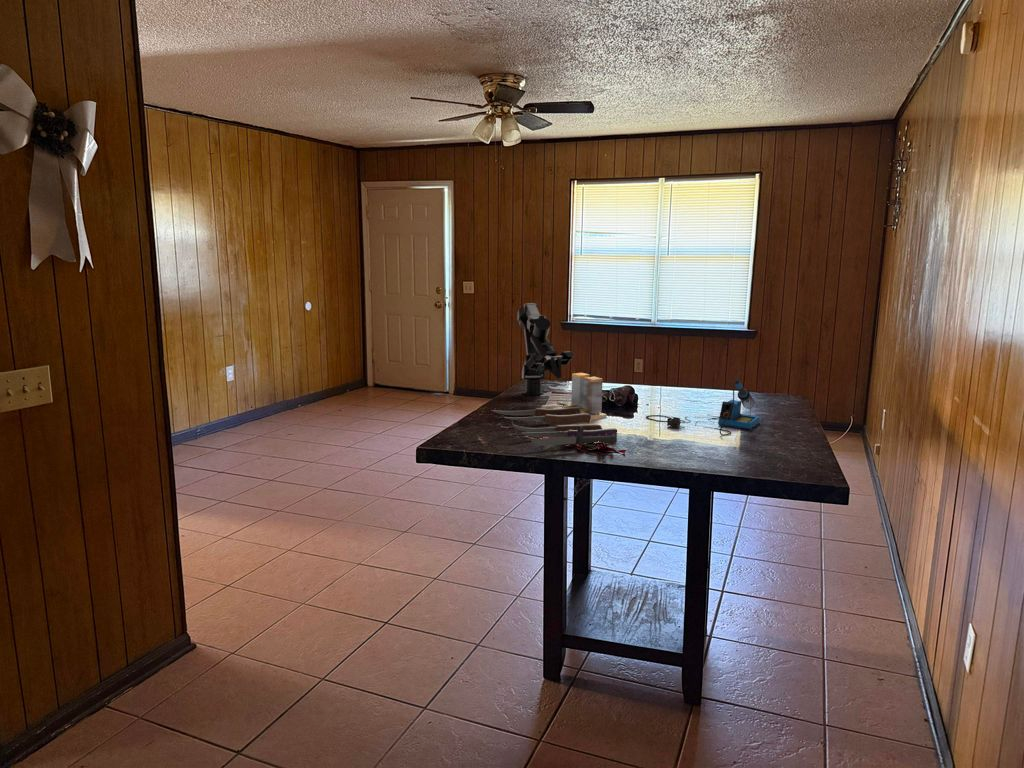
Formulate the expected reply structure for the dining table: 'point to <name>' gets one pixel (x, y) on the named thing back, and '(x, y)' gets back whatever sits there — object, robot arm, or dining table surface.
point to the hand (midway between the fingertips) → (560, 378)
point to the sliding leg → (577, 390)
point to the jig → (588, 399)
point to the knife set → (563, 427)
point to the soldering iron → (726, 413)
